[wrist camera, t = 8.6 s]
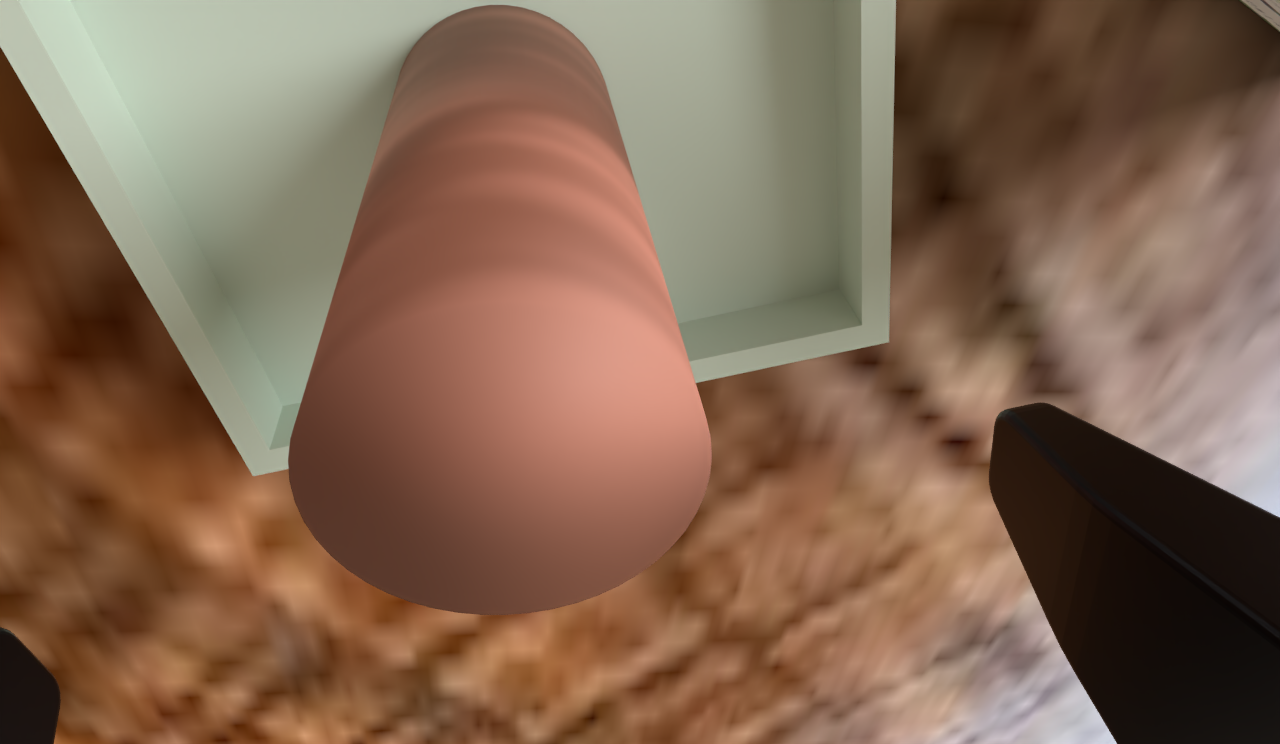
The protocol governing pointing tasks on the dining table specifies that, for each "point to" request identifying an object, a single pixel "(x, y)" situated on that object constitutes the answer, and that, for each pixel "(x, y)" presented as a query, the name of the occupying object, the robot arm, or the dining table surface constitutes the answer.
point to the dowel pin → (500, 342)
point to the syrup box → (1266, 10)
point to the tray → (350, 133)
